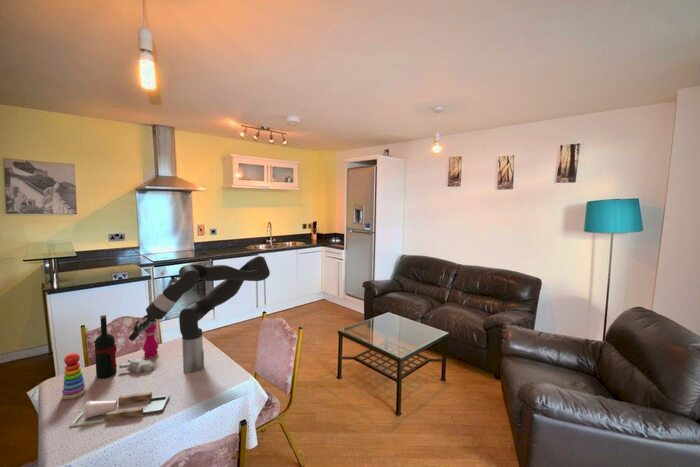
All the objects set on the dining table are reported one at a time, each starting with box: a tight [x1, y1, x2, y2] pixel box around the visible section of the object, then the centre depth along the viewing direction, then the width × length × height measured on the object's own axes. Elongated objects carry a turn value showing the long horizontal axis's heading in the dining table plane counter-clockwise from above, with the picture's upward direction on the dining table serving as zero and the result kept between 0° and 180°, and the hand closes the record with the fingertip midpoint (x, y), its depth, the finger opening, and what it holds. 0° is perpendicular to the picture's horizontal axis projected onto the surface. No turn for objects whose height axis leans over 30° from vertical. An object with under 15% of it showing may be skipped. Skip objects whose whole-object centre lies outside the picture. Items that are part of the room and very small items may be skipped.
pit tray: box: [143, 394, 170, 416], centre depth 131 cm, size 7×10×1 cm
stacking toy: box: [61, 352, 87, 400], centre depth 137 cm, size 8×8×19 cm
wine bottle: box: [94, 314, 118, 380], centre depth 152 cm, size 8×10×30 cm
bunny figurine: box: [118, 357, 156, 374], centre depth 159 cm, size 10×5×15 cm
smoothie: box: [71, 400, 118, 420], centre depth 124 cm, size 6×6×14 cm
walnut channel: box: [105, 391, 153, 423], centre depth 129 cm, size 12×12×3 cm
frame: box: [68, 411, 106, 428], centre depth 125 cm, size 11×12×1 cm
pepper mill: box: [142, 323, 159, 358], centre depth 174 cm, size 7×7×20 cm
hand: (131, 339), depth 129 cm, fingers closed
